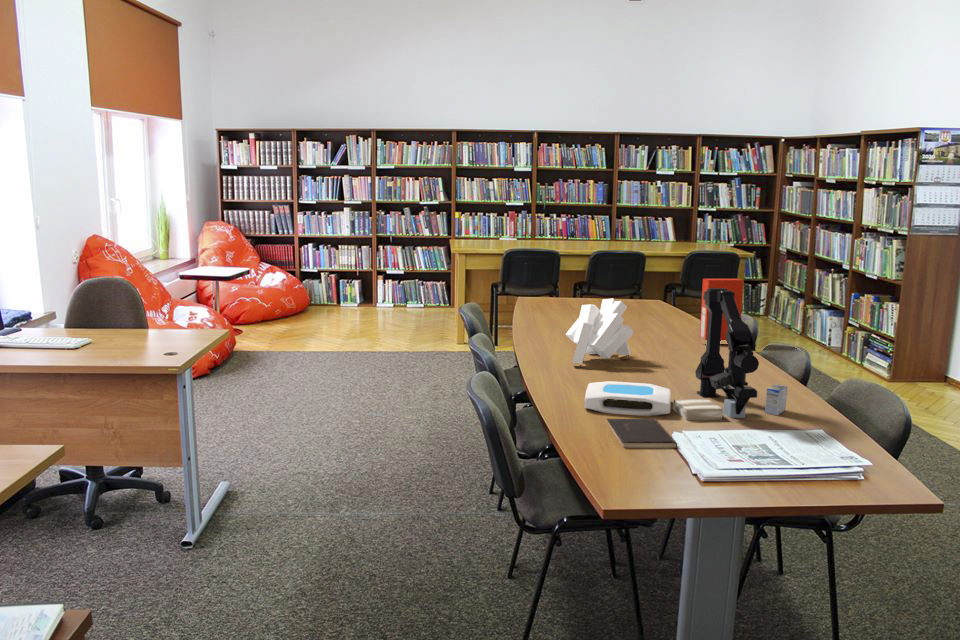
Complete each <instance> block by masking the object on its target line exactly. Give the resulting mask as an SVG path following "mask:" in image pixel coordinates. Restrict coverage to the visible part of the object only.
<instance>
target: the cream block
mask: <svg viewBox="0 0 960 640" xmlns="http://www.w3.org/2000/svg"><path fill="white" fill-rule="evenodd" d="M672 404H673V405H672V408H673V409H672V411H674V412H675V413H676V414H678V415H679V416H680V417H681V418H683V419H684V420H686V421H711V420H712V421H713V420H723V411H724V408H723V407H720V406H719V405H717V404H716V403H715V402H713V401H711V400H710V399H708V398H696V399H695V398H690V399H687V398H685V399H683V398H681V399H673V403H672Z"/></svg>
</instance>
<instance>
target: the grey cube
mask: <svg viewBox="0 0 960 640" xmlns="http://www.w3.org/2000/svg"><path fill="white" fill-rule="evenodd" d="M723 403H724V404H723V414H724V416H727V417H728V418H730V419H735V418H736V419H740V418H745V417H746V405H745V406H744V408H743V410H742V411H741V413H740V414H736V406H735V399H727V398H724V401H723Z"/></svg>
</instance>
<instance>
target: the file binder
mask: <svg viewBox="0 0 960 640" xmlns="http://www.w3.org/2000/svg"><path fill="white" fill-rule="evenodd" d="M701 287H702V289H701V290H702V291H701V308H700V323H699V324H700V325H699V338H700V337H702V338H704V339H705V340H707V332H708V318H709V311H708V309H707V307H706V305H705V300H704V292H705V291H707V289H708V288H726V289H727V291H733V292H734V295H735V298H734V299H735V302H736V305H737V308H738V311H739V314H740V316H741V317H742V310H743V307H742V306H743V296H744V295H743V293H744V279H740V278H702V286H701ZM727 330H728V326H727V323H726V320H725V317H724V314H723V316H722V328H721V340H726V332H727Z"/></svg>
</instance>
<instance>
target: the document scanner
mask: <svg viewBox="0 0 960 640" xmlns="http://www.w3.org/2000/svg"><path fill="white" fill-rule="evenodd" d="M607 399H614V400H613V401H617V400H628V401H627V402H632V401H638V402H637V403H643V402H647V403H646V404H650V403H651V404H652V405H651V404H650V405H651V406H652V407H651V408H649V409H647V408H645V409H641V408H623V407H614V406H613V407H612V406H605V405H604V403H603V402H605V401H604V400H607ZM607 401H608V400H607ZM584 408H585V409H589V410H593V411H597V412H599V413H603V414H613V415H614V414H615V415H629V416H630V415H631V416H640V417H641V416H642V417H652V416H660V415H668V414H670V413H671V389H670V388H667V387H664V386H659V385H656V384H653V383H643V382H627V381H613V380H612V381H611V380H609V381H598V382H596V381H595V382H589V383H588V384H587V387H586V390H585V395H584Z"/></svg>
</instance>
